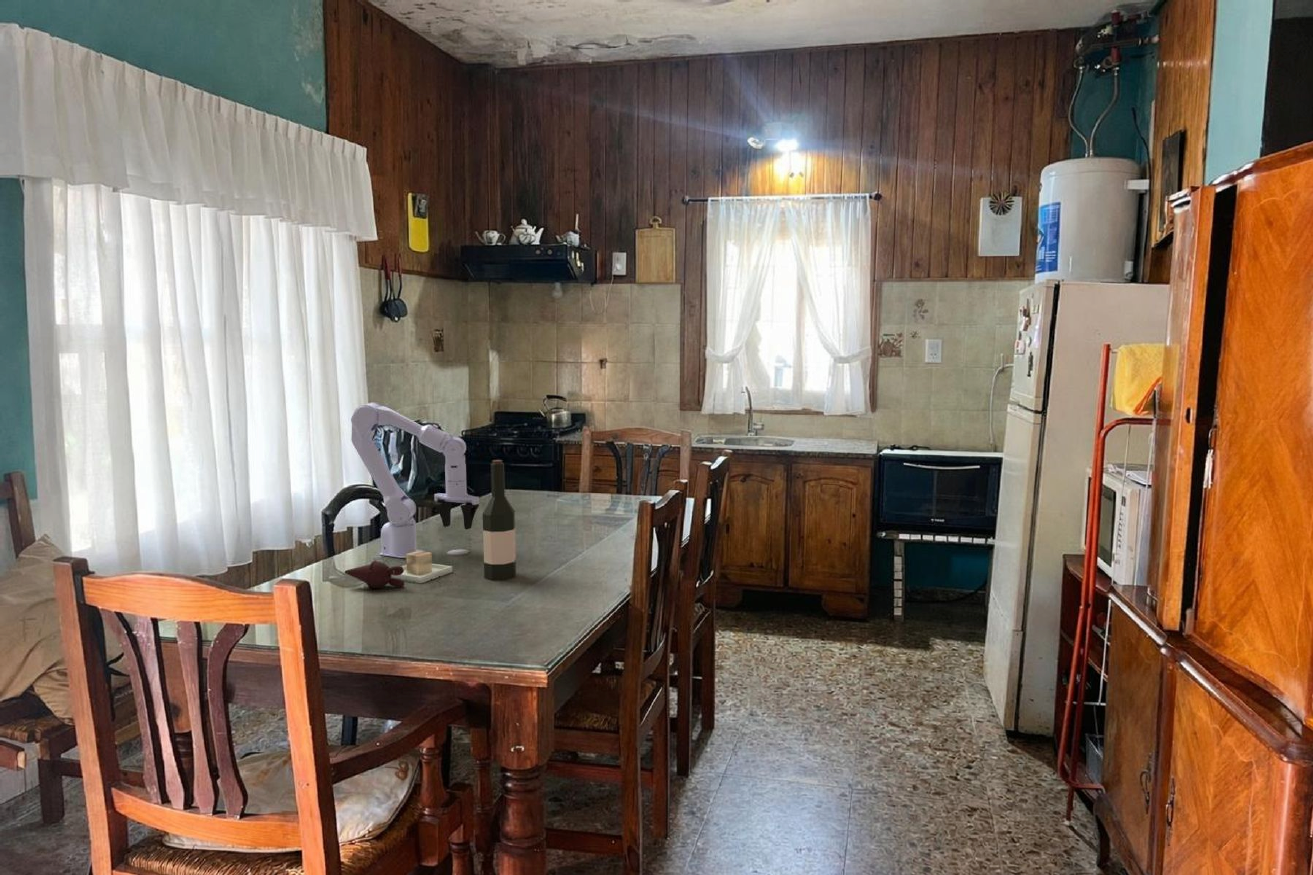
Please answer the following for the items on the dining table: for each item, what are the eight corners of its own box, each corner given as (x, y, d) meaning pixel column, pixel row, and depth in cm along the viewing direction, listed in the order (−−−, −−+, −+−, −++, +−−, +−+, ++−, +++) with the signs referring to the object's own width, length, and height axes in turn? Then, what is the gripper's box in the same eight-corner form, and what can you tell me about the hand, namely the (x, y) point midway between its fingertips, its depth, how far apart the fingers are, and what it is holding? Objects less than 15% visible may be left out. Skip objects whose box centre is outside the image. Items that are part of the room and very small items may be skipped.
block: (406, 572, 222) (406, 553, 222) (420, 569, 226) (420, 550, 225) (418, 575, 220) (417, 556, 219) (432, 571, 223) (431, 552, 223)
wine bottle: (522, 573, 223) (519, 459, 220) (506, 581, 216) (503, 463, 212) (494, 570, 226) (491, 457, 223) (477, 579, 218) (474, 462, 215)
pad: (442, 554, 244) (442, 553, 244) (456, 549, 250) (456, 548, 250) (459, 556, 242) (459, 555, 242) (473, 551, 247) (473, 550, 247)
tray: (384, 577, 220) (384, 572, 220) (416, 566, 231) (416, 561, 230) (420, 583, 215) (420, 577, 214) (452, 571, 225) (452, 566, 225)
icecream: (337, 566, 207) (397, 572, 206) (350, 551, 214) (409, 557, 213) (339, 591, 209) (399, 597, 208) (352, 576, 216) (410, 582, 215)
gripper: (485, 479, 244) (486, 527, 245) (445, 476, 250) (446, 522, 252) (469, 483, 237) (470, 531, 239) (428, 480, 244) (430, 527, 245)
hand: (457, 527), depth 245 cm, fingers open, 7 cm apart
